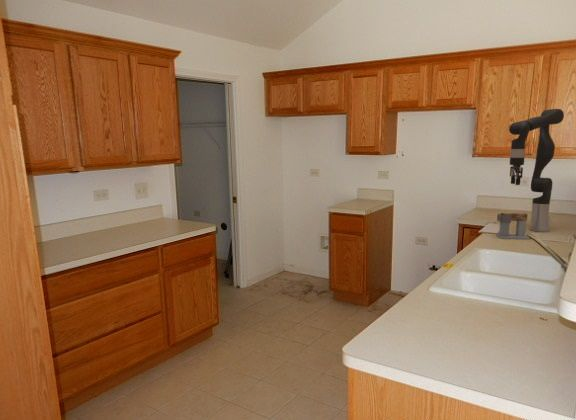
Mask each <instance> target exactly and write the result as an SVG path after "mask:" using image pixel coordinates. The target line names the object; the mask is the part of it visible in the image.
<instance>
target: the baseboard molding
mask: <svg viewBox="0 0 576 420" xmlns="http://www.w3.org/2000/svg"><path fill="white" fill-rule="evenodd" d="M488 223H489V224H488ZM499 230H500V222H499V223H498V221H496V222H494V223H490V222H487V223H485V226H483V228H481V229H480V230H479V231H478V233H479V234H489V235H490V234H491V235H496V234H499Z"/></svg>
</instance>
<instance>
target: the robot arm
mask: <svg viewBox="0 0 576 420" xmlns="http://www.w3.org/2000/svg"><path fill="white" fill-rule="evenodd" d="M564 118H565V113H564V111H563V110H562V109H561V108H550V109H545V110H543V111H542V112H541V115H537V116H534V117H530V118H528V119H525V120H520V121H516V122H513V123H512V124H511V125H509V127H508V131H509V133H510V134H511V135H516V136H517V135H518V137H517V138H514V139H512V140H511V147H510V151H509V152H510V154H509V165H510V167H509V177H510V184H511V185H514V184H515V185H516V186H520V185H521V179H522V178H523V172H524V168H523V167H522V166H524V165H525V155H526V153H525V152H526V141H527V138H528V137H529V136H528V135H529V133H530V131H531V132H532V131H534V130H536V129H539V134H538V135H539V136H538V141H537V148H536V153H535V154H536V156H535V162H534V163H535V164H534V168H533V173H532V177H531V179H530V190H531V192H533V193H542V195H540V196H537V197H534V198H532V201H531V202H532V203H531V206H532V207H531V214H530V227H529V230H530V231H532V232H541V233H546V232H549V230H550V218H551V217H550V215H549V214H550V203H551V197H552V191H553V180H552V178H550V177H541V176H542V173H543V170H544V169H545V168H546V167H547V165H548V164H549V163H550V162H551V161H552V159H553V158H554V156H555V155H554V154H555V151H556V149H555V148H556V145H555V142H554V140H553V138H552V137H551V133H550V125H557V124H560V123H561V122H563V120H564Z"/></svg>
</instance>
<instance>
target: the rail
mask: <svg viewBox="0 0 576 420" xmlns="http://www.w3.org/2000/svg"><path fill="white" fill-rule="evenodd" d="M500 214H501V215H502V216H511V222H517V221H526V222H527V221H528V213H525V212H500Z"/></svg>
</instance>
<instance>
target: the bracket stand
mask: <svg viewBox="0 0 576 420" xmlns="http://www.w3.org/2000/svg"><path fill="white" fill-rule="evenodd" d="M496 218H497V219H496V222H499V223H500V224H499V225H500V230H499V233H498V234H495V236H496V238H498V239H502V240H504V239H505V240H530V237H529V236H528V235H526V225H527V221H516V225H515V226H516V228H515V234H514V233H513V234H512V233H510V224H512V221H511V216H502V215H501V213H497V216H496Z"/></svg>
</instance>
